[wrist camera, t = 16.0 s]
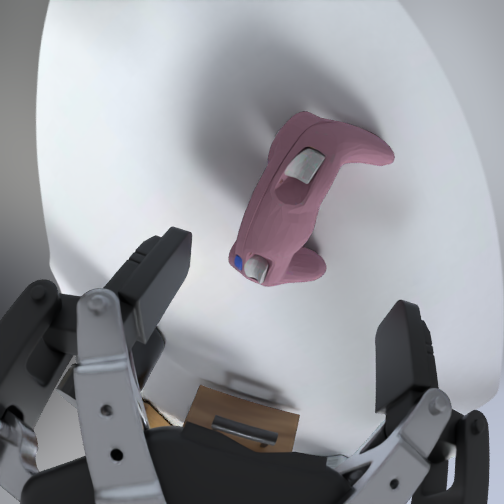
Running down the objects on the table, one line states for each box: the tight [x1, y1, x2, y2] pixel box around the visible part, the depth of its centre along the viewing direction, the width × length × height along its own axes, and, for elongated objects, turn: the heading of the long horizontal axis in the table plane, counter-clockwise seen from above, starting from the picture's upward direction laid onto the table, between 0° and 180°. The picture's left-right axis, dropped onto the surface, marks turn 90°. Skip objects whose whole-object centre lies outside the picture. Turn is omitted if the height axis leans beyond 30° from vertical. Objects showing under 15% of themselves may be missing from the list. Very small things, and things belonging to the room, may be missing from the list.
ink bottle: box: [56, 328, 164, 409], centre depth 27 cm, size 10×9×12 cm
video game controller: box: [229, 111, 395, 287], centre depth 14 cm, size 10×5×7 cm, turn 161°
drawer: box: [183, 385, 300, 452], centre depth 33 cm, size 19×13×9 cm
